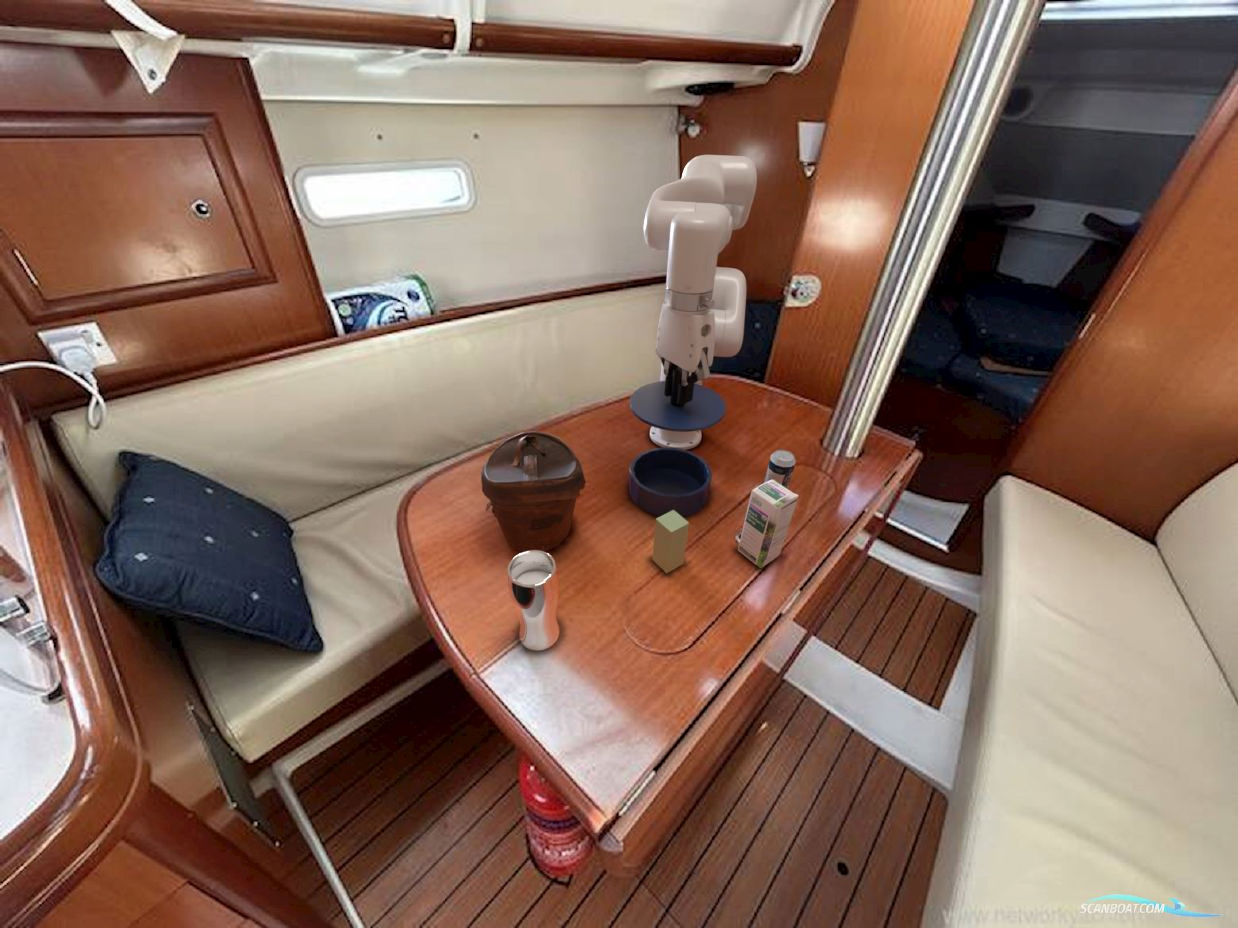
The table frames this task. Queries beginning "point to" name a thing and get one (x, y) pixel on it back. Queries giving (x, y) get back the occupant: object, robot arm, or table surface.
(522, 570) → the beer glass
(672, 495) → the pot
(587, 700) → the table surface
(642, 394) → the lid
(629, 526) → the table surface
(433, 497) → the table surface
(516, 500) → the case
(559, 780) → the table surface
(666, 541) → the block
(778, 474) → the pill bottle
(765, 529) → the syrup box
